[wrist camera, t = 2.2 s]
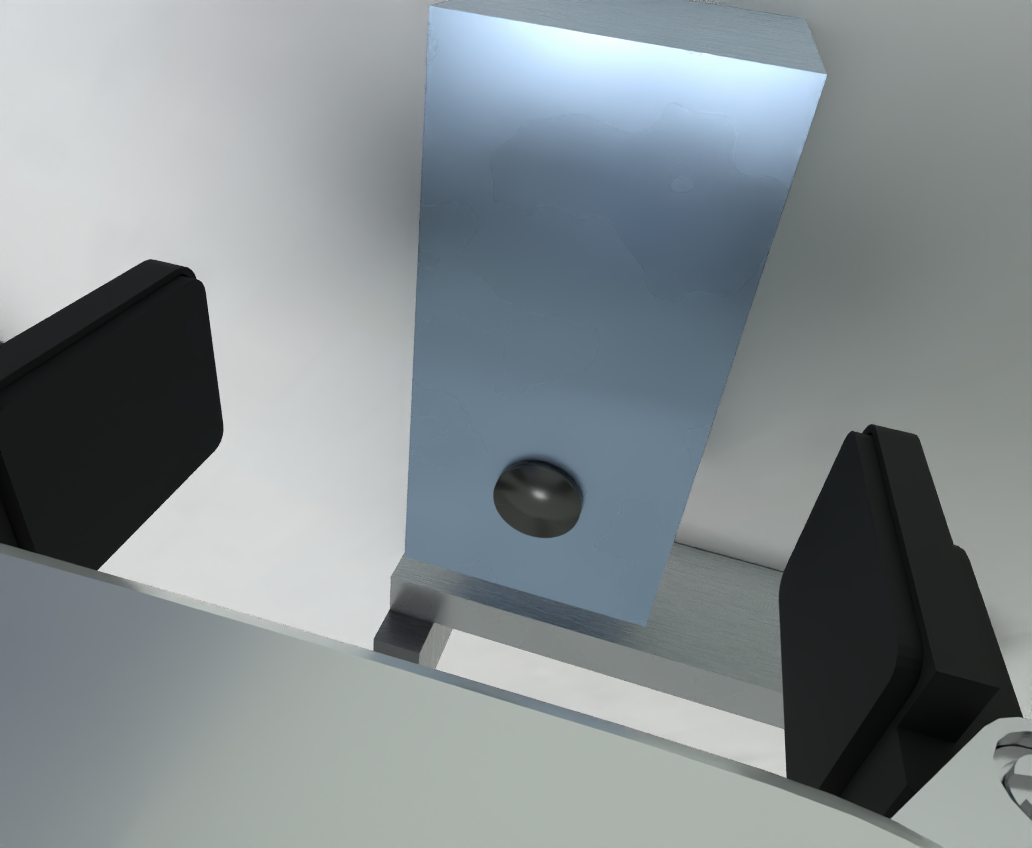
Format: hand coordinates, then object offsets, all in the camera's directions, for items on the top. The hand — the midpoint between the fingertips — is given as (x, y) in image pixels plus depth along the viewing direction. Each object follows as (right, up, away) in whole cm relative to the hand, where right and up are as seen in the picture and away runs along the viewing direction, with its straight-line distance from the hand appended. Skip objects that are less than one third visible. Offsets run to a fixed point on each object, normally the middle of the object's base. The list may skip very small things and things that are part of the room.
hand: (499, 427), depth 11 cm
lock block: (+2, +4, +6) cm, 8 cm away
